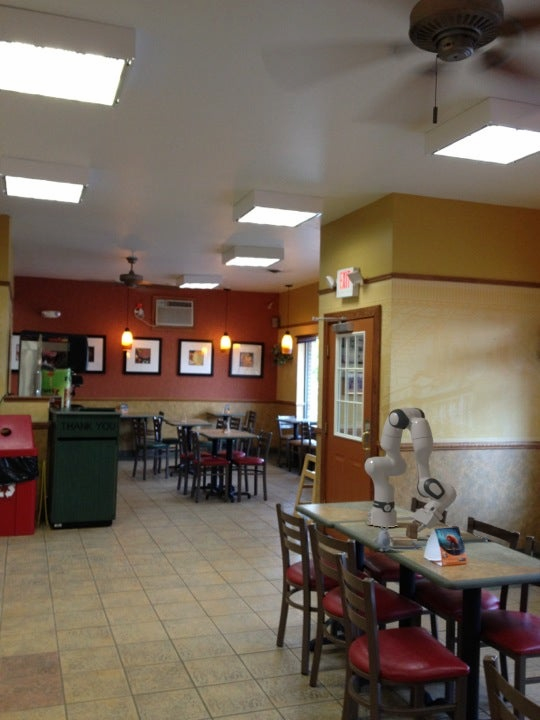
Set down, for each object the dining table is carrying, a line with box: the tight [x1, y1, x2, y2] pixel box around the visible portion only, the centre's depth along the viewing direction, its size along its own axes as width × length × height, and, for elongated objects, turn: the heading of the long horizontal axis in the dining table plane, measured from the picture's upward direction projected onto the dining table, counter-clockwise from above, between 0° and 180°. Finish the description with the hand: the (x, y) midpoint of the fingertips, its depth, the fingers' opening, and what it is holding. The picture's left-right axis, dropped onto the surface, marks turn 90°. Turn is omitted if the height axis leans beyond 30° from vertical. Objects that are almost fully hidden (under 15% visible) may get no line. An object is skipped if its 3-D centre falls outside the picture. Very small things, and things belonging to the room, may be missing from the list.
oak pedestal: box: [389, 534, 414, 546], centre depth 329 cm, size 10×10×3 cm
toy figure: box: [373, 526, 394, 552], centre depth 316 cm, size 11×6×12 cm, turn 101°
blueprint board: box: [389, 541, 423, 550], centre depth 330 cm, size 16×16×1 cm
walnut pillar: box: [405, 522, 419, 540], centre depth 344 cm, size 4×4×8 cm
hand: (413, 529), depth 344 cm, fingers open, 8 cm apart
